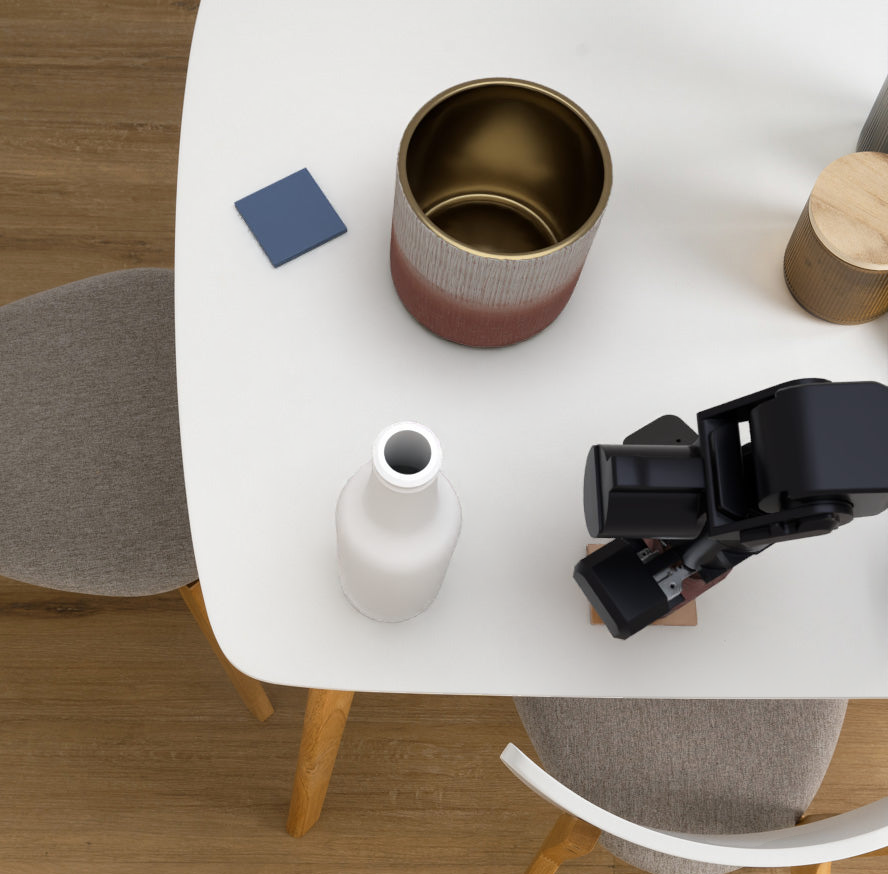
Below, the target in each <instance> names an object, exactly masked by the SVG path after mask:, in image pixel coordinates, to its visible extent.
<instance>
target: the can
mask: <svg viewBox="0 0 888 874" xmlns="http://www.w3.org/2000/svg"><path fill="white" fill-rule="evenodd" d="M643 540H644V541H645V543H646V544H647V545H648V547H649V548H650V550H651V551H652V553H653V552H655V551H656V550H658V552H659V553H660V554H662V553H664V552H665V551H667V550H668V549H670V548H671V546H670V545H669V544H668V543H667V545H668V547H666V548H665V547H663V546H662V545H661V543H660V542H659V541H658V539H643ZM681 563H682V564H683V565H684V563H683V562H682V561H678V562H677V563H675V564H673V565H672V566H670V568H671V570H672V569H674V570H675V567H677V566H678V567H679V568H680V566H679V565H680V564H681ZM733 568H734V567H733ZM733 568H731V569H730V570H728V571H727V572H725V573H724V574H722V575H720V576H719V577H717V578H716V579H714V580H713V581H711V582H709V583H708V584H706V583H705V582H704V581H703V579H702V578H701V576H700V575H699V574H698V572H695V573H693V574H692V575H690V576H689V577H687V578H685V579H684V580H683V581H682V586H683V588H682V591H681V594H682V595H683V597H684V598H685V601H684V602H682V603H680V604H679V605H677V606H676V607H674V608H673V609H671V611H670V612H669V613H667V614H665V615H664V616H662V617H661V618H659V619H663V618H665V617H667V616H669V615H670V614H672V613H673V612H675V611H676V610H678V609H679V608H681V607H683V606H684V605H686V604H687V603H689V602H690V601H692V600H693V599H695V600H696V598H698V597H699V596H701V595H703V594H705V592H707V591H709V590H711V589H712V588H713V587H715V586H716V585H718V584H720V583H721V582H723V581H724V580H725V579H727V577H728V575H729V574H730V573H731V572H732V570H733ZM675 571H676V570H675ZM670 575H671V574H670ZM670 575H669V576H670ZM659 619H658V620H659Z"/></svg>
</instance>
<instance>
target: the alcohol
mask: <svg viewBox="0 0 888 874" xmlns="http://www.w3.org/2000/svg"><path fill="white" fill-rule="evenodd" d="M371 454H372V456H371V460H369V461H368V462H366V463H365V464H363V465H362V466H360V467H359V468H358V469H357V470H356V471H355V472H354V473H353V474H352V475H351V476H350V477H349V478H348V480H347V481H346V482H345V484H344V485H343V486H342V489H341V491H340V493H339V495H338V498H337V500H336V506H335V511H334V517H335V518H334V520H335V521H334V522H335V535H336V549H337V559H338V560H337V561H338V572H339V581H340V585H341V589H342V591H343V592H344V595H345V597H346V599H347V600H348V601H349V602H350V604H351V605H352V606H353V607H354V608H355V609H356V610H357V611H358V612H360V613H361V614H363V615H364V616H366V617H367V618H370V619H373V620H375V621H378V622H385V623H399V622H404V621H407V620H410V619H413V618H415V617H417V616H419V615H420V614H421V613H423V612H424V611H425V610H427V609H428V608H429V607H430V606H431V604H432V603H434V601H435V599H436V597H437V596H438V594H439V592H440V589H441V587H442V583H443V581H444V578H445V575H446V573H447V571H448V568H449V565H450V562H451V560H452V558H453V557H452V556H453V554H454V551H455V549H456V545H457V543H458V541H459V538H460V535H461V531H462V525H463V511H462V506H461V501H460V499H459V496H458V494H457V493H458V492H457V491H456V489H455V488H454V486H453V484H452V482H451V481H450V479H449V478H448V477H447V476H446V474H445V472H443V471H442V470H441V466H442V462H443V448H442V444H441V442H440V440H439V438H438V437H437V435H436V434H435V432H433V431H432V430H431V429H430V428H429V427H427V426H426V425H424V424H421V423H418V422H414V421H399V422H395V423H393V424H390V425H388V426H387V427H385V428H384V429H383V430H382V431H381V432H380V433H378V435H377V436H376V438H375V440H374V442H373V446H372V453H371Z"/></svg>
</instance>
